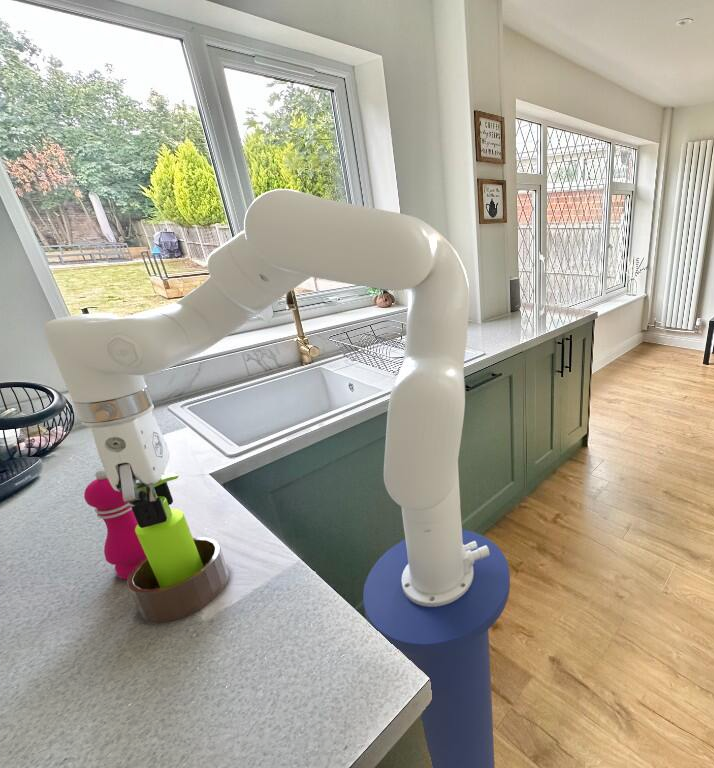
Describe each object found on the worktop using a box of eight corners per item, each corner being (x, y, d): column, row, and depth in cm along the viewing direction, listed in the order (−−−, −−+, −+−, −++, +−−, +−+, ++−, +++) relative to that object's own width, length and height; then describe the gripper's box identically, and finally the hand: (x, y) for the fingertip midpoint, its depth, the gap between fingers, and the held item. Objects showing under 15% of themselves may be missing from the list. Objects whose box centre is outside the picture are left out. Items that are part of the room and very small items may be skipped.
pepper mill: (114, 564, 74) (71, 468, 67) (165, 545, 79) (130, 453, 72) (113, 589, 69) (67, 487, 62) (168, 566, 74) (130, 470, 67)
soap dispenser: (220, 574, 71) (184, 476, 63) (173, 604, 65) (127, 501, 58) (202, 560, 73) (166, 465, 66) (156, 588, 68) (111, 488, 60)
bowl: (230, 555, 76) (222, 528, 74) (225, 602, 66) (216, 573, 64) (149, 580, 71) (138, 553, 69) (131, 635, 61) (117, 605, 59)
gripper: (135, 421, 52) (178, 539, 58) (162, 382, 65) (195, 480, 72) (52, 436, 48) (108, 559, 55) (99, 391, 62) (139, 493, 68)
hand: (157, 513), depth 63 cm, fingers open, 4 cm apart
